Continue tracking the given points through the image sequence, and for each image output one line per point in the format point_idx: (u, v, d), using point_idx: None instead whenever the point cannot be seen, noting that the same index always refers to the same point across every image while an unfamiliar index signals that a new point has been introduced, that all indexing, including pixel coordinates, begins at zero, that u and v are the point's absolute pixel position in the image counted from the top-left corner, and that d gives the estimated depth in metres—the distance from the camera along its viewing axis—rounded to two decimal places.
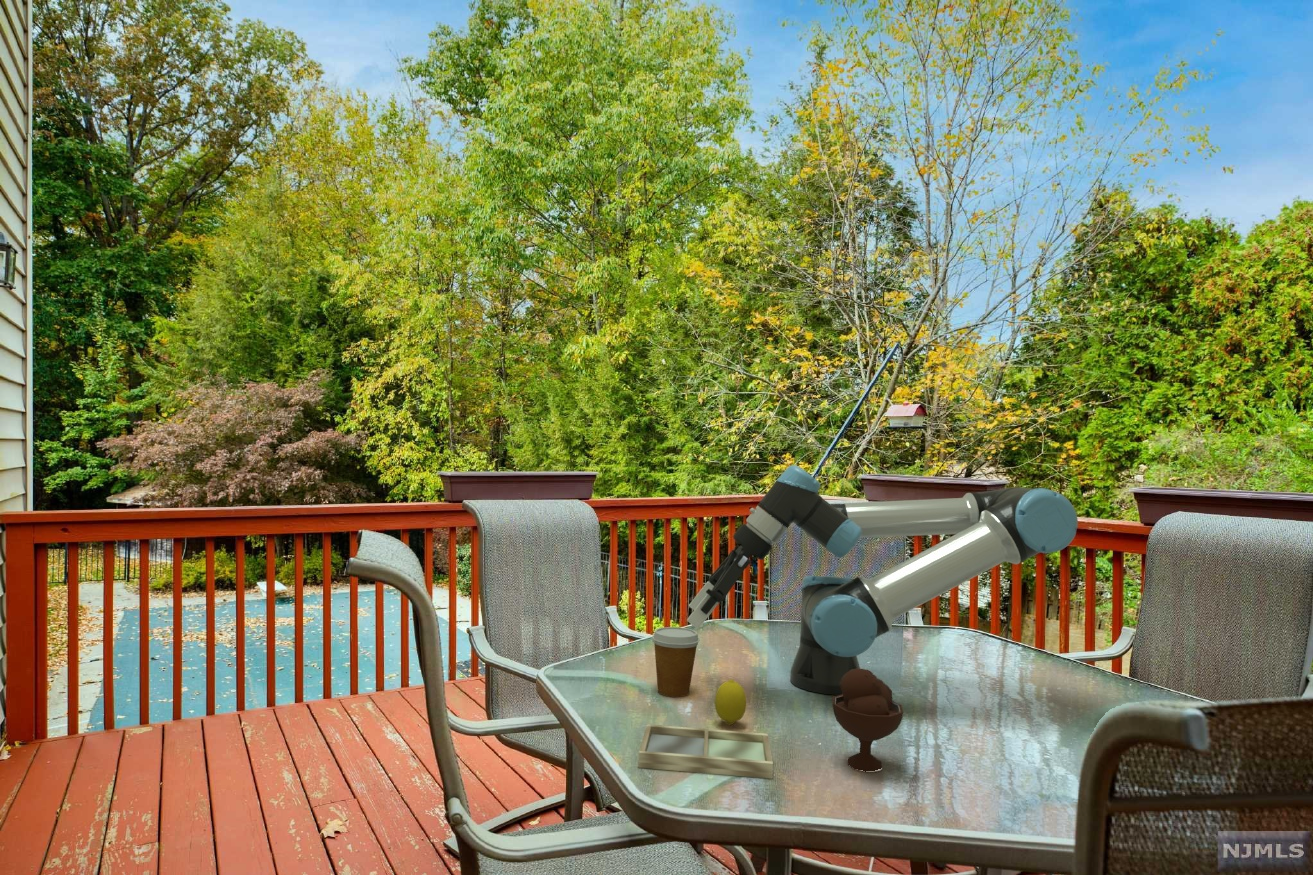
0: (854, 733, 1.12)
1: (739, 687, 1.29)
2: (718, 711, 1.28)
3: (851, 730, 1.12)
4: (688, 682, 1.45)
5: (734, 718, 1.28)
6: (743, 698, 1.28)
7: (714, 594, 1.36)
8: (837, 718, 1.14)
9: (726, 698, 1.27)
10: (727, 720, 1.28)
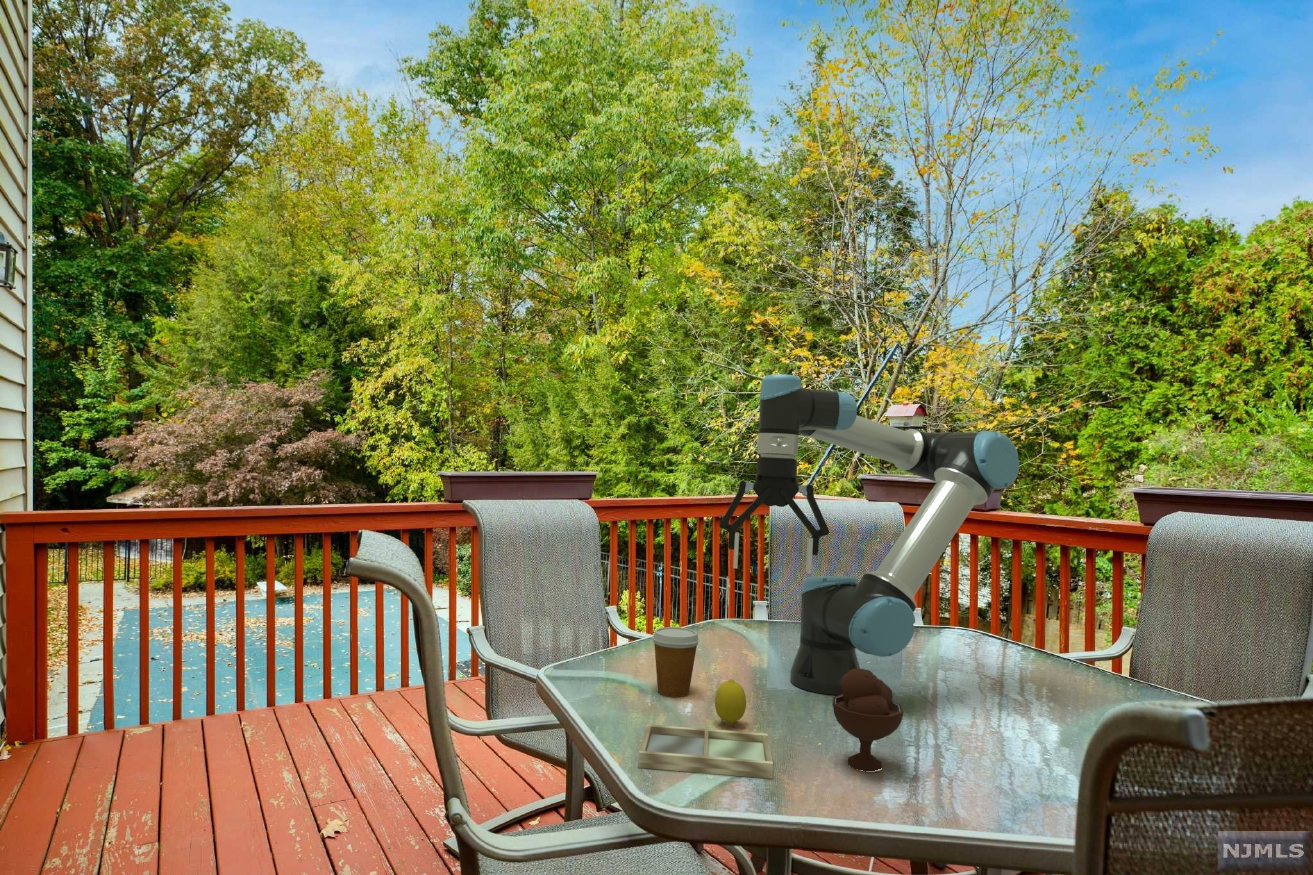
0: (854, 733, 1.12)
1: (739, 687, 1.29)
2: (718, 711, 1.28)
3: (851, 730, 1.12)
4: (688, 682, 1.45)
5: (734, 718, 1.28)
6: (743, 698, 1.28)
7: (828, 533, 1.36)
8: (837, 718, 1.14)
9: (726, 698, 1.27)
10: (727, 720, 1.28)
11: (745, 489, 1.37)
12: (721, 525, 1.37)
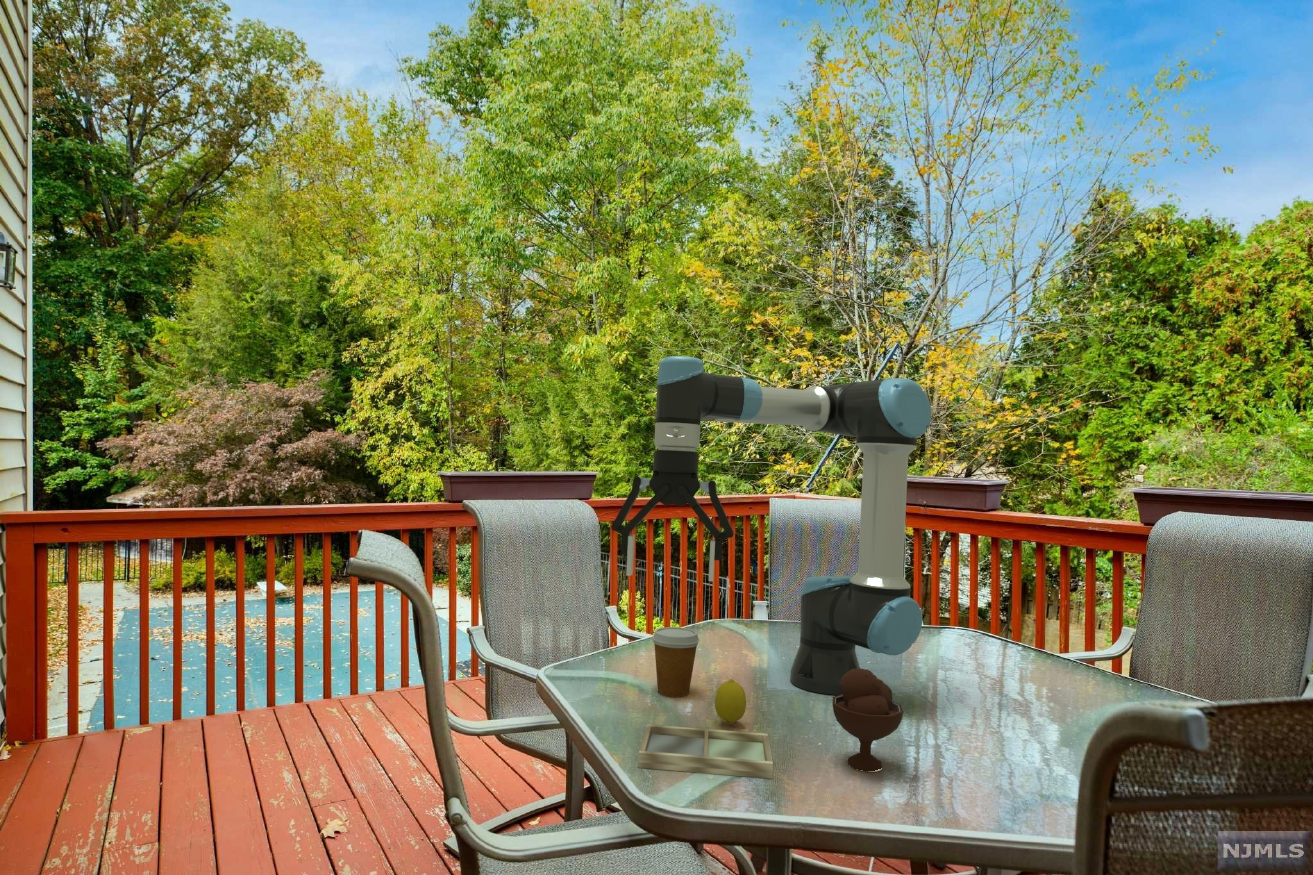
0: (854, 733, 1.12)
1: (739, 687, 1.29)
2: (718, 711, 1.28)
3: (851, 730, 1.12)
4: (688, 682, 1.45)
5: (734, 718, 1.28)
6: (743, 698, 1.28)
7: (732, 535, 1.20)
8: (837, 718, 1.14)
9: (726, 698, 1.27)
10: (727, 720, 1.28)
11: (640, 486, 1.21)
12: (613, 527, 1.21)
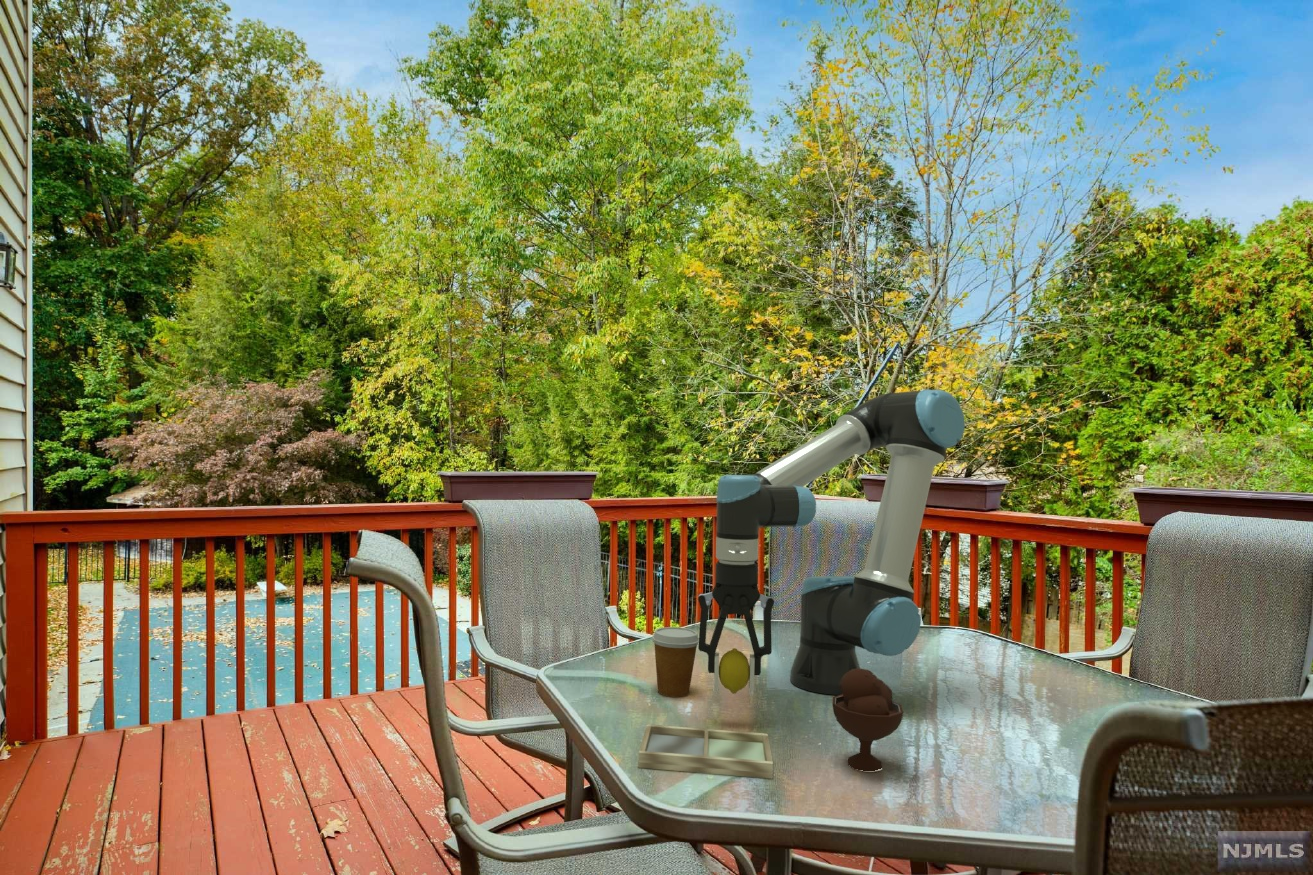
0: (854, 733, 1.12)
1: (742, 656, 1.29)
2: (722, 680, 1.29)
3: (851, 730, 1.12)
4: (688, 682, 1.45)
5: (738, 686, 1.28)
6: (747, 667, 1.29)
7: (770, 652, 1.29)
8: (837, 718, 1.14)
9: (730, 667, 1.28)
10: (731, 689, 1.28)
11: (706, 603, 1.30)
12: (700, 648, 1.29)
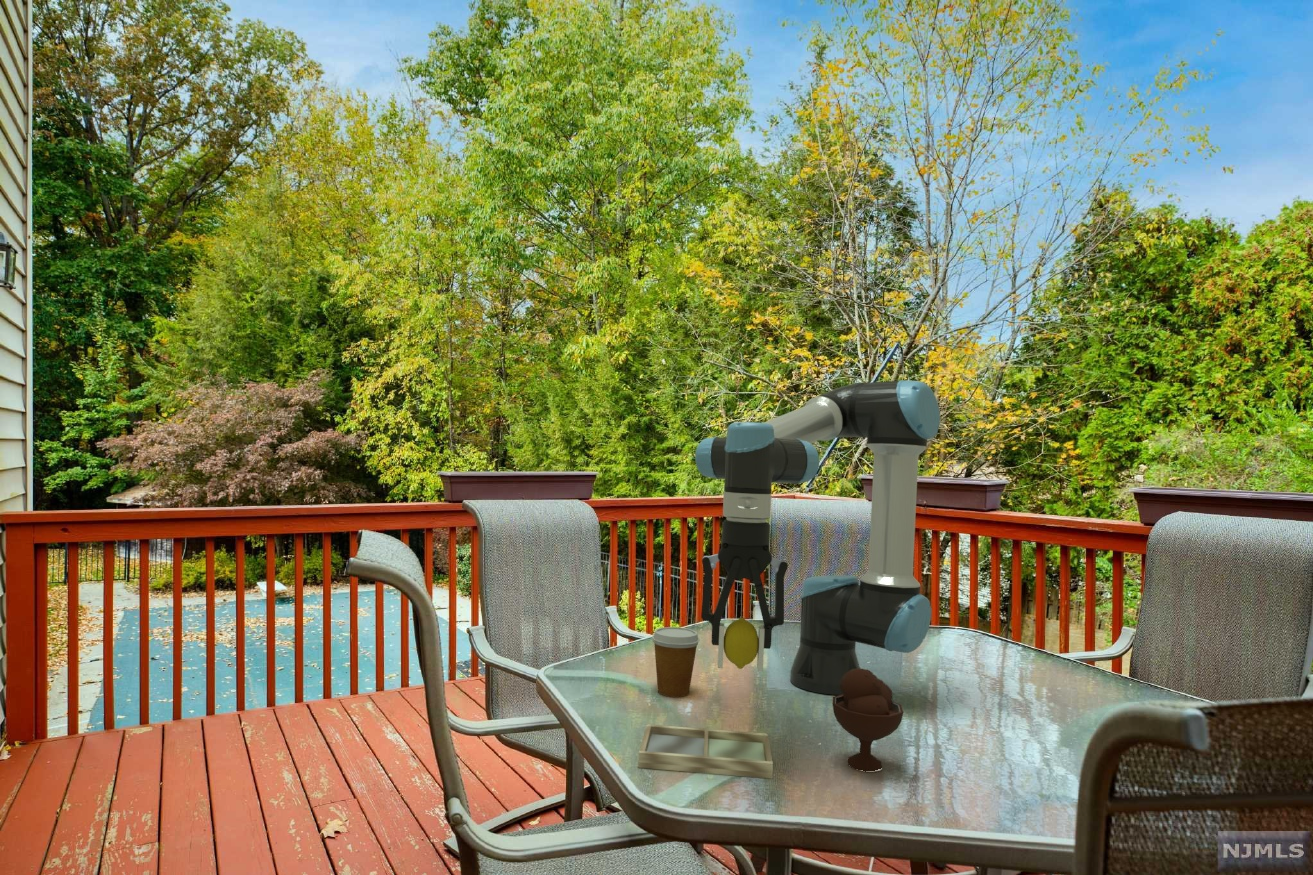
0: (854, 733, 1.12)
1: (751, 626, 1.14)
2: (727, 653, 1.14)
3: (851, 730, 1.12)
4: (688, 682, 1.45)
5: (746, 660, 1.13)
6: (755, 638, 1.14)
7: (783, 622, 1.14)
8: (837, 718, 1.14)
9: (737, 637, 1.13)
10: (737, 662, 1.14)
11: (711, 566, 1.15)
12: (703, 617, 1.15)
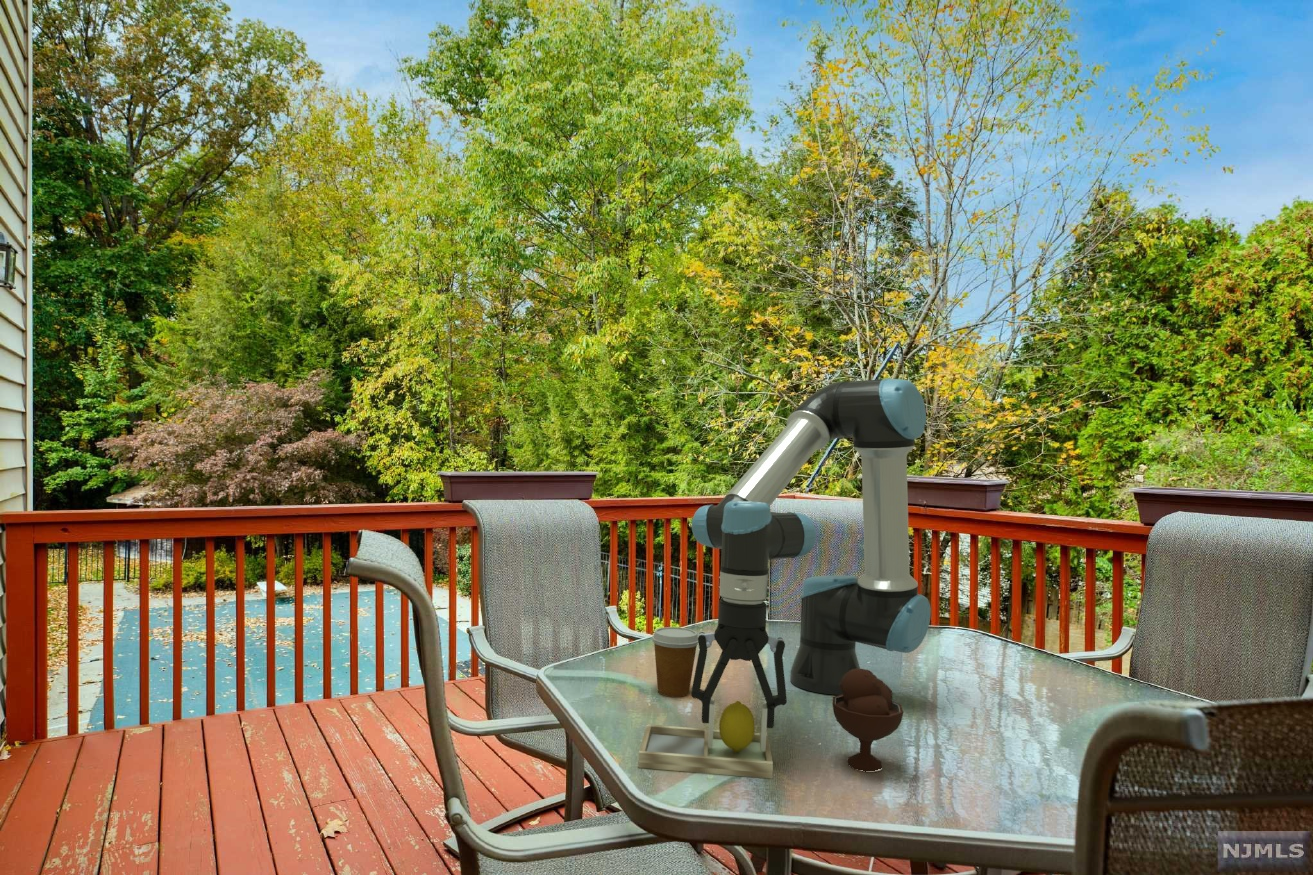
0: (854, 733, 1.12)
1: (747, 710, 1.14)
2: (723, 737, 1.14)
3: (851, 730, 1.12)
4: (688, 682, 1.45)
5: (742, 745, 1.13)
6: (751, 723, 1.13)
7: None
8: (837, 718, 1.14)
9: (732, 723, 1.13)
10: (733, 747, 1.13)
11: (706, 644, 1.14)
12: (693, 695, 1.14)
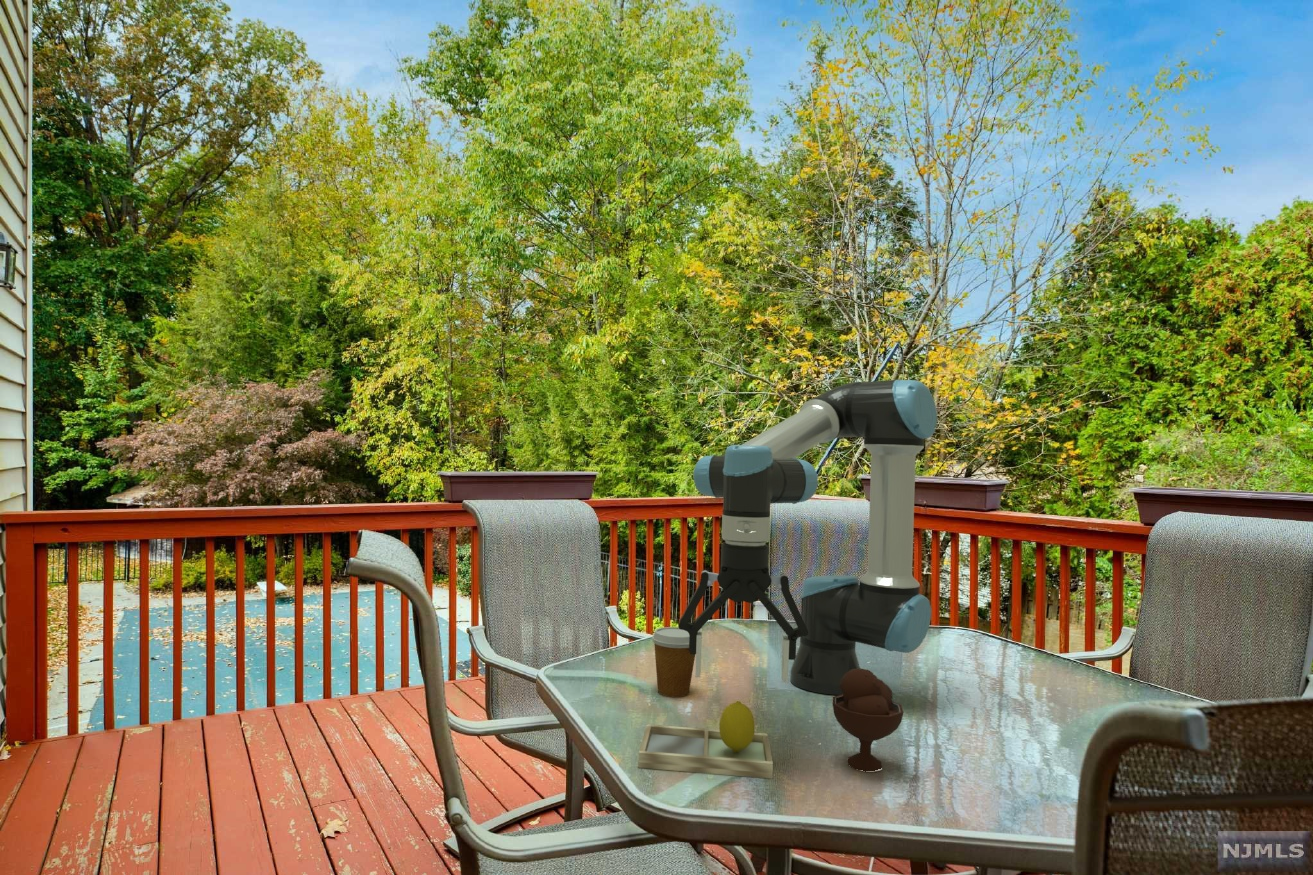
0: (854, 733, 1.12)
1: (747, 710, 1.14)
2: (723, 737, 1.14)
3: (851, 730, 1.12)
4: (688, 682, 1.45)
5: (742, 745, 1.13)
6: (752, 723, 1.13)
7: (807, 633, 1.14)
8: (837, 718, 1.14)
9: (732, 723, 1.13)
10: (733, 747, 1.13)
11: (708, 582, 1.15)
12: (680, 626, 1.15)
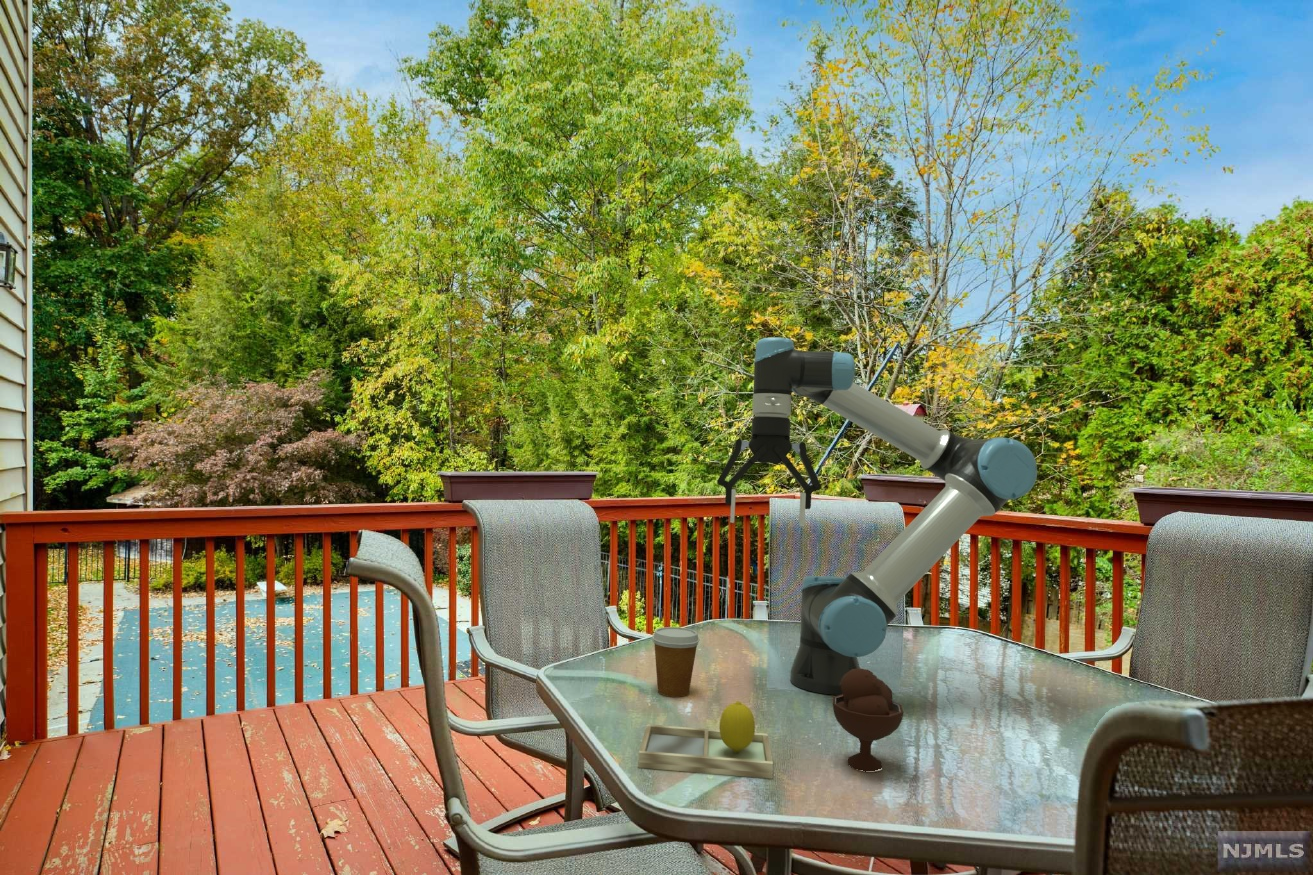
0: (854, 733, 1.12)
1: (747, 710, 1.14)
2: (723, 737, 1.14)
3: (851, 730, 1.12)
4: (688, 682, 1.45)
5: (742, 746, 1.13)
6: (752, 723, 1.13)
7: None
8: (837, 718, 1.14)
9: (733, 723, 1.13)
10: (733, 748, 1.13)
11: (741, 447, 1.44)
12: (718, 482, 1.44)
